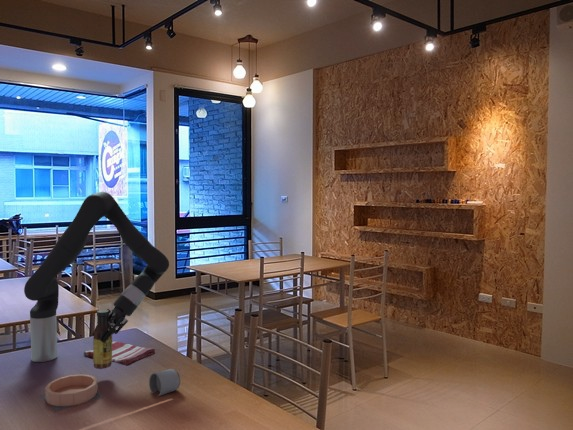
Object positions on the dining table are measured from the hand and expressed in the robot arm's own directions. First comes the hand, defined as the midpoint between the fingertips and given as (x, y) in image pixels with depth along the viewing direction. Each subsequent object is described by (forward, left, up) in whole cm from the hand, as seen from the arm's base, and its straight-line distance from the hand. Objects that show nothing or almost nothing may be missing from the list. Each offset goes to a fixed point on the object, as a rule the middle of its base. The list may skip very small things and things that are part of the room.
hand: (97, 338), depth 166 cm
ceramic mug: (+23, +12, -16) cm, 30 cm away
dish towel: (-21, +17, -16) cm, 31 cm away
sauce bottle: (0, +2, -11) cm, 11 cm away
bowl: (+7, -11, -15) cm, 20 cm away
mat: (+7, -11, -15) cm, 20 cm away
